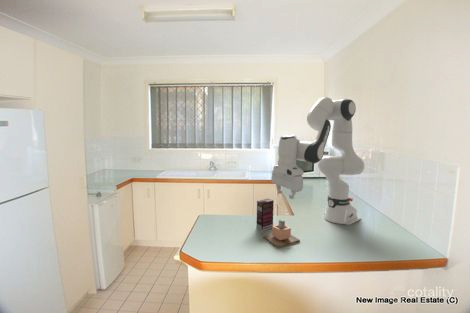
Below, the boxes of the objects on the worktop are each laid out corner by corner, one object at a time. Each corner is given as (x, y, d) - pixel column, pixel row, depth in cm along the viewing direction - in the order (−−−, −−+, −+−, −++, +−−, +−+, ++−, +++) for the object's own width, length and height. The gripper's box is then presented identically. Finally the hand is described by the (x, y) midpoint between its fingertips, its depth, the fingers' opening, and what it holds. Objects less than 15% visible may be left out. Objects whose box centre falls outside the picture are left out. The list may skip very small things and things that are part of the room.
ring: (282, 232, 140) (282, 223, 139) (290, 237, 134) (290, 228, 134) (271, 235, 137) (272, 225, 136) (279, 240, 131) (280, 230, 131)
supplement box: (267, 224, 155) (268, 198, 152) (273, 227, 151) (274, 200, 149) (255, 228, 150) (256, 200, 147) (261, 231, 146) (262, 203, 144)
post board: (284, 232, 145) (285, 214, 143) (299, 242, 134) (300, 222, 133) (262, 238, 138) (263, 219, 136) (277, 248, 128) (277, 227, 126)
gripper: (268, 165, 139) (268, 191, 141) (295, 173, 121) (293, 202, 123) (278, 164, 141) (277, 189, 144) (306, 171, 124) (304, 200, 126)
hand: (285, 195), depth 133 cm, fingers open, 8 cm apart
